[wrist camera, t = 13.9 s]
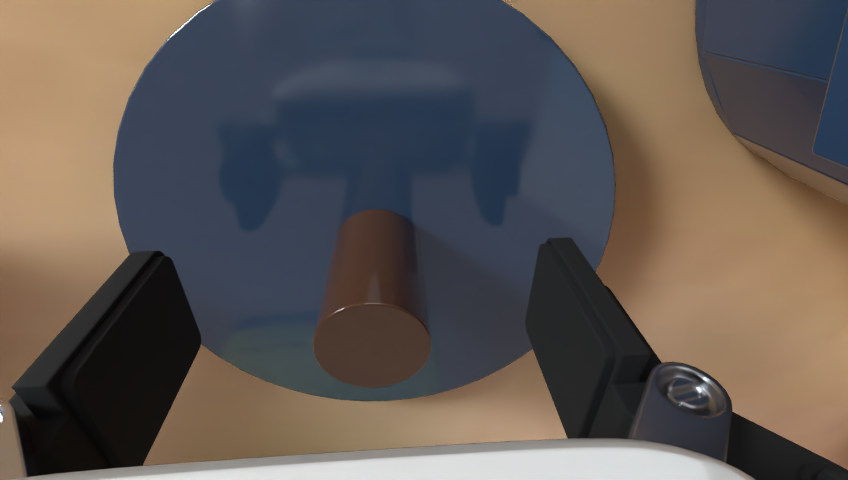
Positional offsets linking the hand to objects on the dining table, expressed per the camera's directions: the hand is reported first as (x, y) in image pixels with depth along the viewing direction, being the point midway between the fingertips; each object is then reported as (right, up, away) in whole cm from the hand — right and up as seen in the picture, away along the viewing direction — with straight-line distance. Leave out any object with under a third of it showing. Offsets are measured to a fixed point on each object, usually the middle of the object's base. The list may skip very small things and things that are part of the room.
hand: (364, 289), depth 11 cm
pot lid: (0, +1, +3) cm, 3 cm away
